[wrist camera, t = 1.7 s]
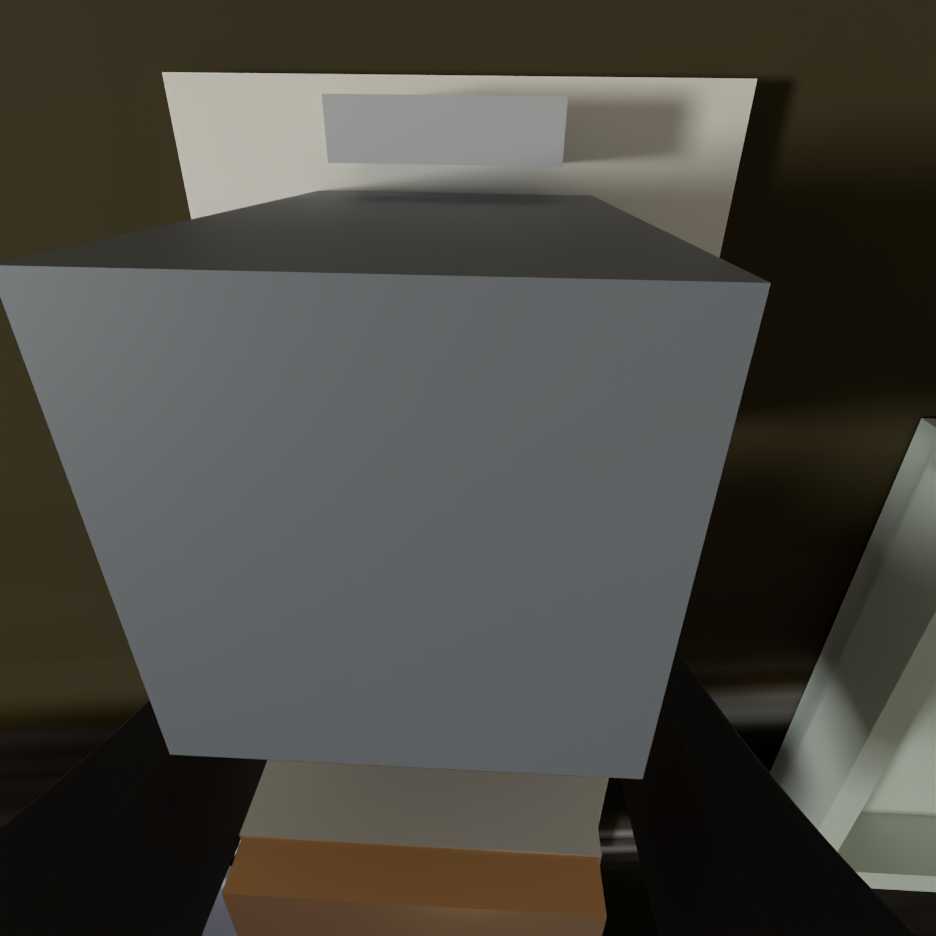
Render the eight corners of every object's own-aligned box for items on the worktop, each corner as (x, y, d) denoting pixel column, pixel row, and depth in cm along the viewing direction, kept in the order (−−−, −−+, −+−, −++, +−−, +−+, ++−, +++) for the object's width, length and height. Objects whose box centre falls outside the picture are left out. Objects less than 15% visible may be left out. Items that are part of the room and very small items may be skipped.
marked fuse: (540, 688, 12) (571, 1064, 7) (366, 679, 12) (275, 1045, 7) (556, 545, 10) (610, 916, 5) (351, 537, 10) (218, 891, 5)
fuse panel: (585, 847, 15) (631, 1218, 10) (325, 832, 16) (235, 1187, 10) (738, 83, 7) (1429, -107, 2) (185, 77, 7) (-613, -107, 2)
